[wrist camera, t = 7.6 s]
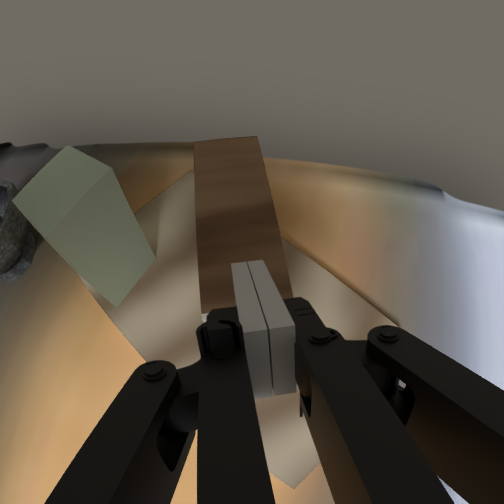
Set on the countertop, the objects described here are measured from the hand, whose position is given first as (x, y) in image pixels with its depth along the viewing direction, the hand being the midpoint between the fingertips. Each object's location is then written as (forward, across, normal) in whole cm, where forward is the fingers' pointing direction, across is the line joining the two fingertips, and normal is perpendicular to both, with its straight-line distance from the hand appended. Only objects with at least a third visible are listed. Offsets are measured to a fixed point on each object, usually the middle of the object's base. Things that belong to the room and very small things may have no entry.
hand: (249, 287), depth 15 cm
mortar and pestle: (+12, -23, +1) cm, 26 cm away
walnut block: (+2, 0, -3) cm, 4 cm away
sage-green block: (+8, -10, 0) cm, 13 cm away
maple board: (+6, -1, -5) cm, 8 cm away
